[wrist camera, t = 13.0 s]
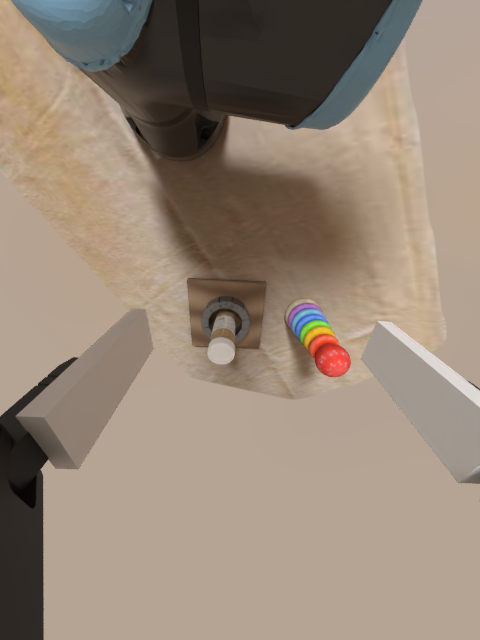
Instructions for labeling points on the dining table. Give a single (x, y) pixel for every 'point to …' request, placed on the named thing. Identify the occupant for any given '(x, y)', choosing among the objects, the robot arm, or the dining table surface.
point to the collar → (226, 303)
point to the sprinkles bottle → (223, 338)
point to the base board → (213, 288)
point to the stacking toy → (317, 337)
